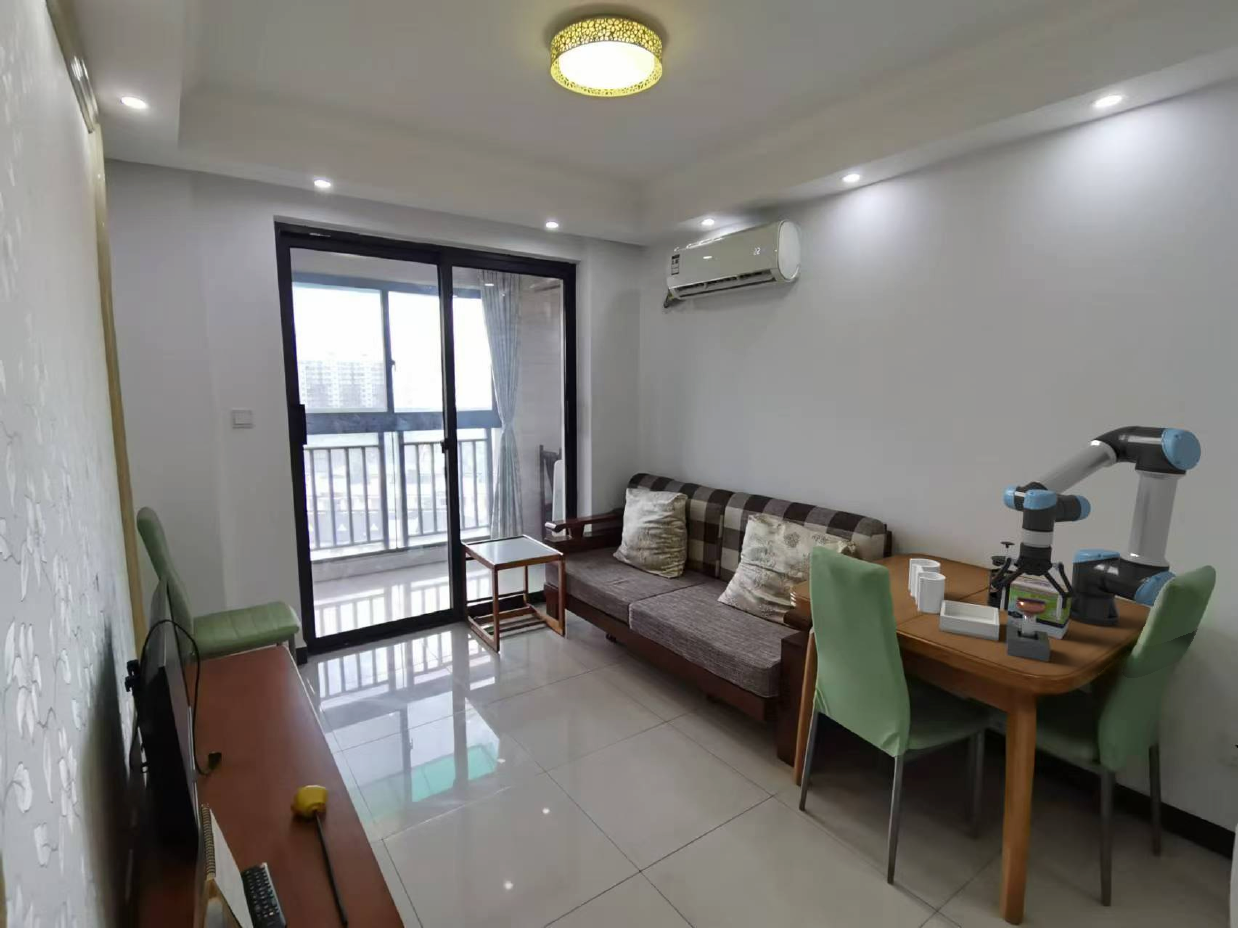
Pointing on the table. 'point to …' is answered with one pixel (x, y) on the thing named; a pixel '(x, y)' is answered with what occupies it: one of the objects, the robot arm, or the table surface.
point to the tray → (969, 620)
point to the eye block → (1027, 644)
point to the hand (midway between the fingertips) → (1029, 614)
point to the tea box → (1050, 596)
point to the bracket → (926, 585)
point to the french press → (992, 596)
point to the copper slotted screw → (1029, 614)
